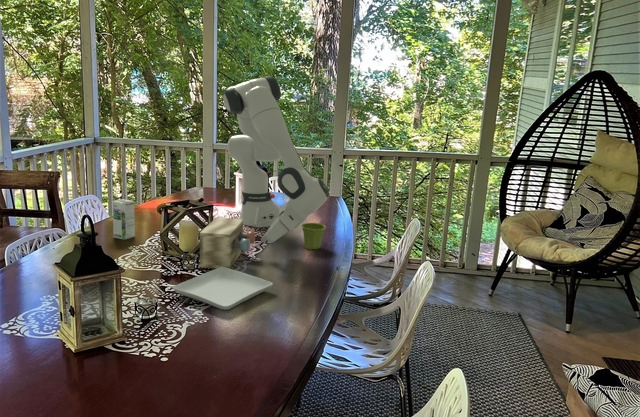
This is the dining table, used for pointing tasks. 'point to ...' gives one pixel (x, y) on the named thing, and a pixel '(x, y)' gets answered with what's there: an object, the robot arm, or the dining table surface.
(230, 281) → the salad plate
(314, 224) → the plant pot
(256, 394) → the dining table surface
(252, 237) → the button brick
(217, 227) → the cardboard box
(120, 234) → the syrup box
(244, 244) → the blue grey rounded piece
